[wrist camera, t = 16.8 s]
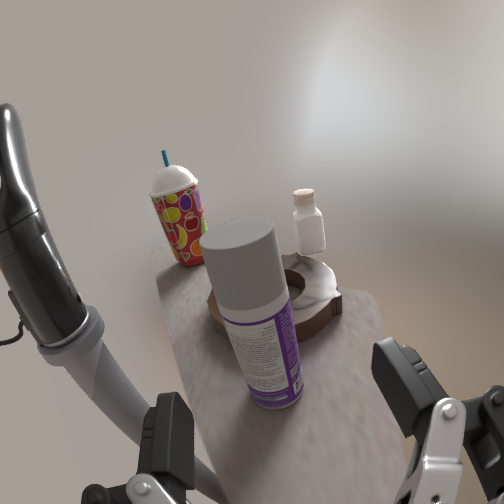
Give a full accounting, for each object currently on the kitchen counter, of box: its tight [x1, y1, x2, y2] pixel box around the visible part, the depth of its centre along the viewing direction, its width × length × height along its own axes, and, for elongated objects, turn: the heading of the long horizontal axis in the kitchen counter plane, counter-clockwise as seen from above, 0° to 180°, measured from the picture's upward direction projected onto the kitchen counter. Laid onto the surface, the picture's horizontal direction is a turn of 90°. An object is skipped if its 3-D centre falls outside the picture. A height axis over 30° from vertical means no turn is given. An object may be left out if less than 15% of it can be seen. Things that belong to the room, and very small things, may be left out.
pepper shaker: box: [293, 189, 326, 255], centre depth 43 cm, size 4×4×10 cm
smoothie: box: [150, 150, 208, 266], centre depth 46 cm, size 8×8×20 cm
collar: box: [207, 253, 342, 343], centre depth 34 cm, size 15×15×2 cm
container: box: [199, 217, 304, 410], centre depth 20 cm, size 5×5×15 cm
